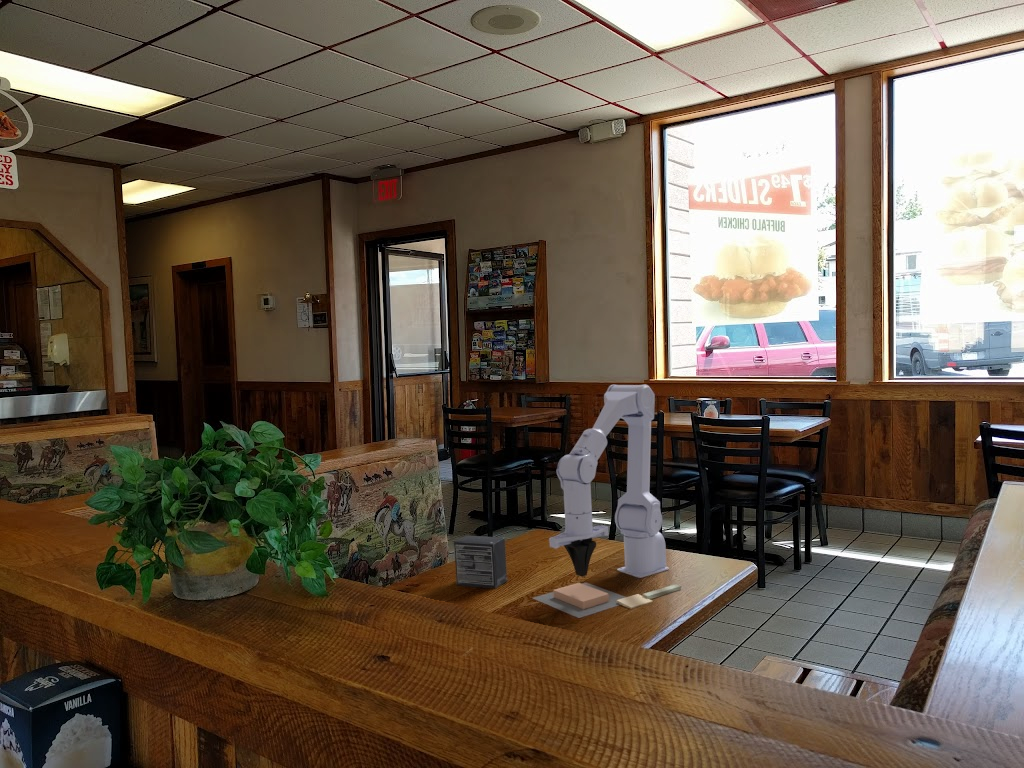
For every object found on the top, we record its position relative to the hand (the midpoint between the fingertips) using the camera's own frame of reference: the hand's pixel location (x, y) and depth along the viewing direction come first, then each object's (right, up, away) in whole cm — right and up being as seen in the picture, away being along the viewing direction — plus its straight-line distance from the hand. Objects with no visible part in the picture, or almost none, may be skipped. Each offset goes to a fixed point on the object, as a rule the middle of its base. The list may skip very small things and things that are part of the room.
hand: (581, 574), depth 165 cm
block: (+3, -4, +2) cm, 5 cm away
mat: (0, -6, 0) cm, 6 cm away
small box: (-22, -6, +16) cm, 27 cm away
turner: (+15, -5, -1) cm, 16 cm away
